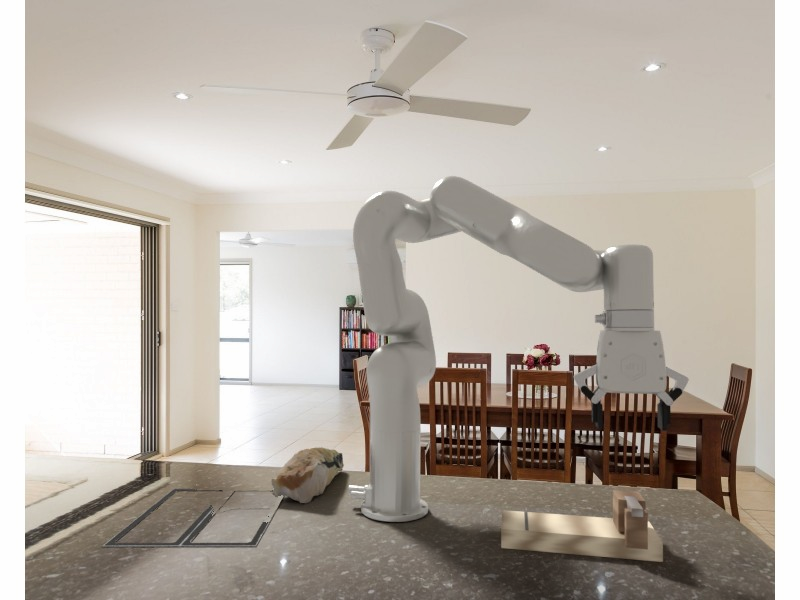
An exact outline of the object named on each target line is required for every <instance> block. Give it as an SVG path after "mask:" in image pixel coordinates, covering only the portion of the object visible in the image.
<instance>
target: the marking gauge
mask: <svg viewBox="0 0 800 600" xmlns="http://www.w3.org/2000/svg"><path fill="white" fill-rule="evenodd" d="M646 502H647V501H646V499H645V498H644V496H642V494H641V493H640V492H639V491H637V490H636V491H634V490H620V489H619V490H618V489H613V490H612V518H613V522H614V524H615V526H616V528H617V530H618V532H625V546H626V548H636V549H648V521H649V519H648V517H649V515H648V511H647V510H646Z"/></svg>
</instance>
